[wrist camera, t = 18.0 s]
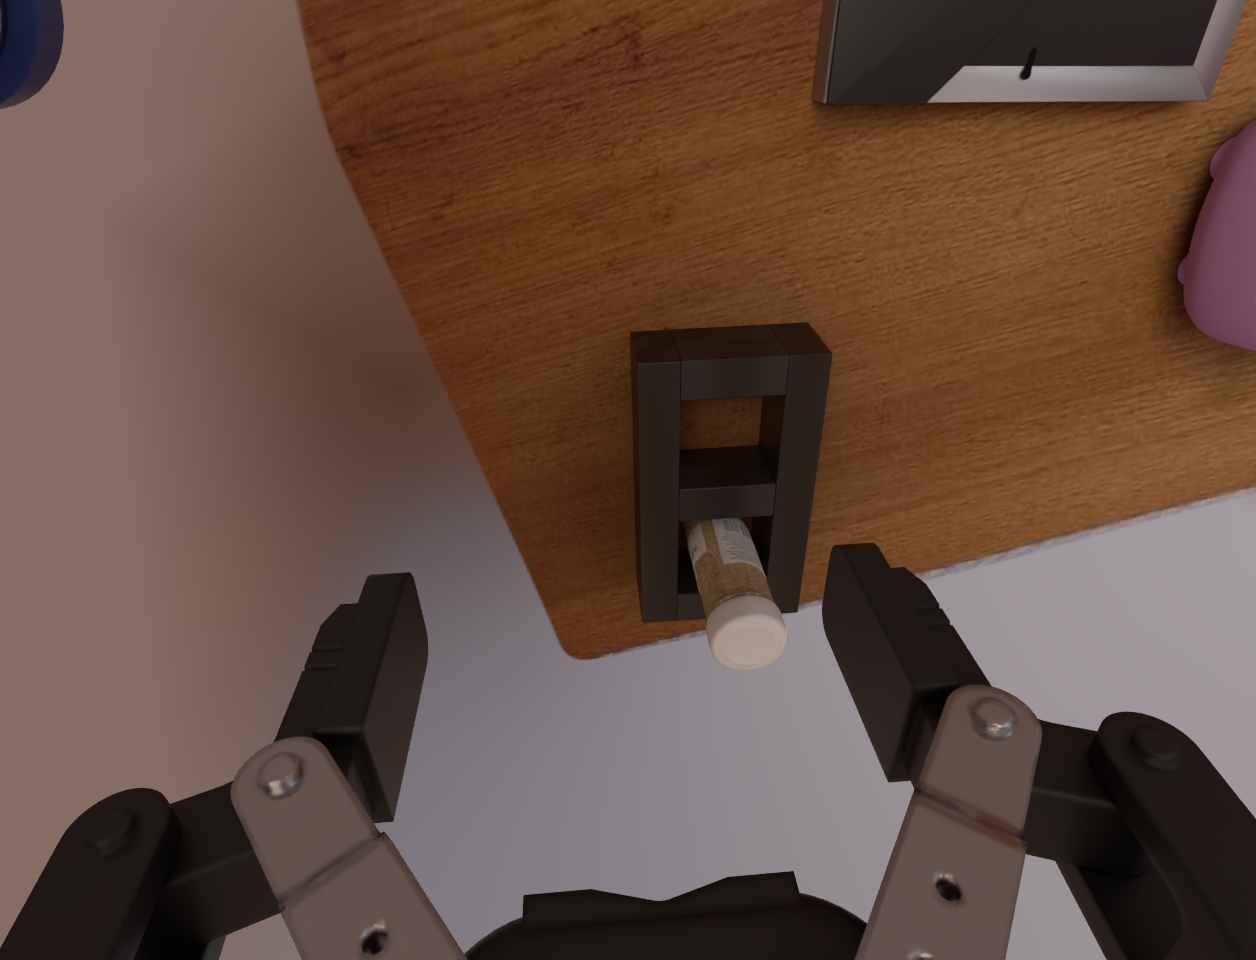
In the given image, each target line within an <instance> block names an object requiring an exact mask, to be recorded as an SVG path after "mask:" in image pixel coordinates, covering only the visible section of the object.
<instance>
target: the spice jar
mask: <svg viewBox="0 0 1256 960" xmlns="http://www.w3.org/2000/svg"><path fill="white" fill-rule="evenodd" d="M681 525H682V527H683V529H684V531H685V534H686V538H687V543H688V550H689V554H690V557H691V561H692V565H693V569H694V573H695V577H696V581H697V585H698V589H699V593H700V595H701V598H702V602H703V607H704V610H705V614H706V619H707V624H706V633H707V638H708V641H709V645H710V649H711V652H712V655H713V656H714V658H715V659H716V660H717V661H718V662H719V663H720V664H721V665H723V666H725V667H727V668H730V669H733V670H738V671H748V670H755V669H759V668H762V667H764V666H766V665H768V664H770V663H772V662H773V661H775V660H776V659H777V658H778V657H779V656H780V655H781V654H782V652H783V651H784V649H785V647H786V644H787V639H788V634H787V630H786V626H785V623H784V620H783V617H782V615H781V612H780V610H779V608H778V607H777V606H776V604H775V602H774V601H773V599H772V596H771V593H770V590H769V587H768V585H767V580H766V576H765V573H764V571H763V568H762V565H761V563H760V560H759V557H758V554H757V552H756V549H755V546H754V544H753V541H752V538H751V536H750V533H749V531H748V528H747V527H746V525H745V522H744V520H743V518H726V519H711V520H695V521H681Z"/></svg>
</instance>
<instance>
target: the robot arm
mask: <svg viewBox="0 0 1256 960" xmlns="http://www.w3.org/2000/svg"><path fill="white" fill-rule="evenodd" d="M6 32H7V9H6V2H5V0H0V54H1V51H2V49H3V46H4V43H5V38H6ZM822 617H823V624H824V629H825V633H826V636H827V639H828V641H829V644H830V646H831V649H832V651H833V653H834V655H835V658H836V660H837V663H838V665H839V667H840V669H841V672H842V674H843V677H844V679H845V681H846V684H847V686H848V688H849V691H850V693H851V696H852V698H853V700H854V703H855V705H856V707H857V710H858V712H859V714H860V717H861V719H862V721H863V724H864V726H865V729H866V731H867V733H868V736H869V738H870V740H871V743H872V745H873V747H874V750H875V752H876V754H877V757H878V759H879V762H880V764H881V766H882V769H883V771H884V773H885V776H886V778H887V780H888V782H899V781H911V783H912V785H913V787H914V792H913V795H912V798H911V800H910V804H909V806H908V809H907V812H906V815H905V818H904V820H903V823H902V826H901V829H900V832H899V835H898V837H897V841H896V843H895V846H894V849H893V852H892V855H891V857H890V860H889V863H888V866H887V869H886V872H885V875H884V878H883V881H882V883H881V886H880V889H879V892H878V895H877V897H876V900H875V903H874V906H873V909H872V912H871V915H870V918H869V920H868V923H866V922H864V921H863V920H861V919H860V918H859V917H857V916H856V915H854V914H852V913H850V912H849V911H847V910H845V909H843V908H842V907H840V906H838V905H835V904H833V903H831V902H828V901H826V900H824V899H820V898H817V897H814V896H811V895H807V894H802V893H799V890H798V886H797V882H796V879H795V875H794V872H793V871H790V872H779V873H768V874H756V875H745V876H734V877H727V878H724V879H722V880H719V881H716V882H714V883H711V884H708V885H706V886H703V887H701V888H698V889H695V890H692V891H690V892H687V893H685V894H682V895H680V896H677V897H674V898H671V899H669V900H665V901H653V900H647V899H642V898H637V897H631V896H625V895H620V894H615V893H609V892H603V891H598V890H593V889H588V890H576V891H565V892H553V893H542V894H532V895H524V899H523V917H522V918H519V919H517V920H514V921H512V922H509V923H507V924H506V925H504V926H502V927H500V928H498V929H496V930H494V931H493V932H492V933H490V934H488V935H487V936H486V937H484V938H483V939H481V940H480V941H479V942H477V943H476V944H475V945H474V946H473V947H472V948H470V949H469V950H468V951H467V952H466V953H465V954H463V952H462V950H461V949H460V947H459V946H458V944H457V942H456V941H455V939H454V938H453V936H452V935H451V933H450V931H449V930H448V928H447V927H446V925H445V924H444V922H443V920H442V919H441V917H440V916H439V914H438V913H437V911H436V909H435V908H434V906H433V905H432V903H431V902H430V900H429V899H428V897H427V895H426V894H425V892H424V891H423V889H422V888H421V886H420V884H419V883H418V881H417V880H416V878H415V877H414V875H413V873H412V872H411V870H410V869H409V867H408V866H407V864H406V863H405V861H404V859H403V858H402V857H401V855H400V853H399V851H398V850H397V848H396V847H395V845H394V844H393V842H392V841H391V839H390V838H389V837H388V835H387V834H386V833H385V832H382V833H380V832H379V831H378V829H377V828H376V826H375V825H374V823H381V822H393V820H394V815H395V811H396V807H397V801H398V797H399V792H400V788H401V783H402V779H403V774H404V769H405V765H406V760H407V755H408V751H409V745H410V741H411V737H412V732H413V727H414V722H415V718H416V713H417V708H418V704H419V699H420V694H421V689H422V685H423V680H424V676H425V671H426V666H427V659H428V638H427V631H426V627H425V623H424V619H423V614H422V610H421V606H420V602H419V598H418V594H417V590H416V585H415V581H414V578H413V576H412V574H411V573H409V572H407V573H392V574H377V575H369V576H368V577H367V579H366V581H365V584H364V587H363V590H362V593H361V596H360V598H359V601H358V603H356V604H341V605H340V606H339V607H338V608H337V609H336V610H335V611H334V612H333V613H332V614H331V615H330V616H329V618H327V619H326V620H325V622H324V623H323V624H322V625H321V627H320V629H319V631H318V634H317V636H316V639H315V641H314V644H313V647H312V652H310V654H309V656H308V659H307V661H306V664H305V670H304V671H302V674H301V676H300V679H299V681H298V684H297V686H296V689H295V691H294V694H293V696H292V699H291V701H290V703H289V706H288V708H287V711H286V713H285V716H284V718H283V721H282V723H281V726H280V728H279V731H278V733H277V736H276V738H275V740H274V742H273V743H272V744H270V745H268V746H266V747H264V748H262V749H261V750H259V751H258V752H256V753H255V754H254V755H253V756H251V757H250V758H249V760H247V761H246V762H245V763H244V765H243V766H242V767H241V768H240V770H239V771H238V773H237V774H236V776H235V778H234V780H233V781H231V782H229V783H227V784H225V785H223V786H220V787H218V788H215V789H212V790H209V791H206V792H203V793H200V794H198V795H195V796H192V797H189V798H186V799H183V800H181V801H177V802H175V803H172V804H169V802H168V801H167V799H166V798H165V797H164V795H163V794H161V793H160V792H158V791H156V790H153V789H148V788H135V789H129V790H125V791H122V792H119V793H116V794H114V795H111V796H109V797H107V798H105V799H103V800H101V801H99V802H98V803H96V804H95V805H93V806H92V807H90V808H89V809H88V810H86V811H85V812H84V813H83V814H81V815H80V816H79V817H78V818H77V819H76V820H75V821H74V822H73V823H72V824H71V825H70V827H69V828H68V829H67V830H66V831H65V833H64V835H63V836H62V838H61V839H60V841H59V843H58V845H57V846H56V848H55V850H54V852H53V854H52V856H51V857H50V859H49V861H48V863H47V865H46V866H45V868H44V870H43V872H42V874H41V875H40V877H39V879H38V881H37V883H36V885H35V886H34V888H33V890H32V892H31V894H30V895H29V897H28V899H27V901H26V903H25V904H24V906H23V908H22V910H21V912H20V914H19V915H18V917H17V919H16V921H15V923H14V924H13V926H12V928H11V930H10V932H9V933H8V935H7V937H6V939H5V941H4V943H3V944H2V946H1V948H0V960H219V957H220V954H221V951H222V948H223V944H224V941H225V938H226V935H228V934H230V933H232V932H235V931H237V930H240V929H242V928H244V927H247V926H249V925H252V924H254V923H256V922H259V921H261V920H264V919H266V918H269V917H271V916H274V915H276V914H278V913H281V914H282V917H283V919H284V921H285V923H286V926H287V928H288V930H289V932H290V934H291V937H292V939H293V941H294V943H295V945H296V947H297V949H298V952H299V954H300V956H301V958H302V960H1005V957H1006V952H1007V947H1008V942H1009V937H1010V931H1011V927H1012V921H1013V916H1014V911H1015V906H1016V901H1017V895H1018V890H1019V885H1020V880H1021V875H1022V870H1023V864H1024V859H1025V854H1028V855H1032V856H1036V857H1041V858H1045V859H1050V860H1054V861H1056V863H1057V865H1058V867H1059V869H1060V871H1061V873H1062V875H1063V877H1064V879H1065V881H1066V883H1067V885H1068V886H1069V888H1070V890H1071V892H1072V894H1073V896H1074V898H1075V900H1076V902H1077V904H1078V906H1079V908H1080V909H1081V911H1082V913H1083V915H1084V917H1085V919H1086V921H1087V923H1088V925H1089V927H1090V929H1091V931H1092V933H1093V934H1094V936H1095V938H1096V940H1097V942H1098V944H1099V946H1100V948H1101V950H1102V952H1103V954H1104V956H1105V958H1106V959H1107V960H1256V819H1255V818H1254V816H1253V815H1252V814H1251V812H1250V811H1249V810H1248V809H1247V807H1246V806H1245V805H1244V804H1243V803H1242V801H1241V800H1240V799H1239V798H1238V796H1237V795H1236V794H1235V792H1234V791H1233V790H1232V789H1231V787H1230V786H1229V785H1228V784H1227V783H1226V781H1225V780H1224V779H1223V777H1222V776H1221V775H1220V774H1219V772H1218V771H1217V770H1216V769H1215V767H1214V766H1213V765H1212V764H1211V762H1210V761H1209V760H1208V759H1207V757H1206V756H1205V755H1204V754H1203V752H1202V751H1201V750H1200V748H1199V747H1198V746H1197V745H1196V744H1195V743H1194V742H1193V741H1192V740H1191V739H1190V738H1189V737H1188V736H1187V735H1185V734H1184V733H1183V732H1181V731H1180V730H1178V729H1177V728H1175V727H1174V726H1172V725H1170V724H1168V723H1166V722H1164V721H1162V720H1160V719H1157V718H1155V717H1152V716H1149V715H1145V714H1142V713H1136V712H1118V713H1115V714H1111V715H1109V716H1108V717H1106V718H1105V719H1104V720H1103V721H1102V723H1101V725H1100V727H1099V729H1098V731H1093V730H1087V729H1082V728H1076V727H1071V726H1065V725H1061V724H1055V723H1050V722H1046V721H1042V720H1040V719H1037V717H1036V716H1035V714H1034V713H1033V712H1032V711H1031V709H1030V708H1029V707H1028V706H1027V705H1026V704H1025V703H1023V702H1022V701H1021V700H1019V699H1018V698H1017V697H1015V696H1013V695H1011V694H1010V693H1008V692H1005V691H1003V690H1001V689H998V688H995V687H992V686H991V685H990V683H989V681H988V680H987V678H986V677H985V675H984V674H983V672H982V671H981V669H980V667H979V666H978V664H977V663H976V661H975V660H974V658H973V656H972V655H971V653H970V652H969V650H968V649H967V647H966V646H965V644H964V642H963V641H962V639H961V638H960V636H959V635H958V633H957V631H956V630H955V628H954V627H953V625H950V621H949V619H948V618H947V616H946V614H945V613H944V612H943V610H942V609H940V608H939V603H938V602H937V600H936V599H935V597H934V596H933V594H932V592H931V591H930V589H929V588H928V586H927V585H926V584H925V583H924V582H923V581H921V580H920V579H919V578H917V577H916V576H915V575H914V574H912V573H911V572H910V571H908V570H907V569H906V568H905V567H899V568H890V566H889V564H888V563H887V561H886V559H885V558H884V556H883V554H882V553H881V551H880V549H879V548H878V546H877V545H876V544H875V543H860V544H845V545H835V546H834V547H833V548H832V550H831V554H830V560H829V566H828V573H827V579H826V585H825V592H824V598H823V605H822Z"/></svg>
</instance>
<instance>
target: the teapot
mask: <svg viewBox="0 0 1256 960" xmlns="http://www.w3.org/2000/svg"><path fill="white" fill-rule="evenodd" d="M1210 174H1211V176H1212V178H1213V179H1214V181H1213V183H1212V185H1211V187H1210V190H1209V192H1208V194H1207V197H1206V199H1205V201H1204V204H1203V206H1202V209H1201V211H1200V214H1199V217H1198V220H1197V223H1196V226H1195V229H1194V233H1193V236H1192V240H1191V245H1190V249H1189V254H1188V255H1187V256H1185V258H1184V259H1183V260H1182V262H1181V264H1180V266H1179V268H1178V280H1179V281H1180V282H1181V283H1182V284H1183V285H1184V304H1185V307H1186V311H1187V313H1188V315H1189V317H1190V318H1191V320H1192V321H1193V323H1194V324H1195V326H1196V327H1197V328H1198V329H1199V330H1200V331H1201V332H1203V333H1204V334H1205V335H1207V336H1210V337H1212V338H1214V339H1216V340H1219V341H1222V342H1225V343H1228V344H1231V345H1234V346H1237V347H1241V348H1244V349H1249V350H1254V351H1256V119H1254V120H1253V121H1252V122H1250V123H1249V124H1248V125H1247V126H1246V127H1245V128H1244V129H1243V130H1242V131H1241V132H1240V133H1239V135H1238V136H1236V137H1233V138H1231V139H1229V140H1228V141H1226V142H1225V143H1224V144H1223V145H1222V146H1221V147H1220V148H1219V149H1218V150H1217V152H1216V153H1215V155H1214V156H1213V158H1212V161H1211V165H1210Z"/></svg>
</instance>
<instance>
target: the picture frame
mask: <svg viewBox="0 0 1256 960" xmlns="http://www.w3.org/2000/svg"><path fill="white" fill-rule="evenodd" d="M1246 1H1247V0H824V4H823V12H822V20H821V28H820V36H819V45H818V53H817V61H816V69H815V77H814V85H813V93H812V100H814V101H818V102H821V103H826V104H827V105H882V104H926V103H970V102H1148V101H1208V100H1209V98H1210V95H1211V92H1212V90H1213V87H1214V85H1215V82H1216V79H1217V77H1218V74H1219V71H1220V69H1221V66H1222V64H1223V61H1224V58H1225V56H1226V53H1227V51H1228V48H1229V45H1230V43H1231V40H1232V38H1233V35H1234V32H1235V30H1236V27H1237V25H1238V22H1239V19H1240V17H1241V14H1242V12H1243V9H1244V6H1245V4H1246Z"/></svg>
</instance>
